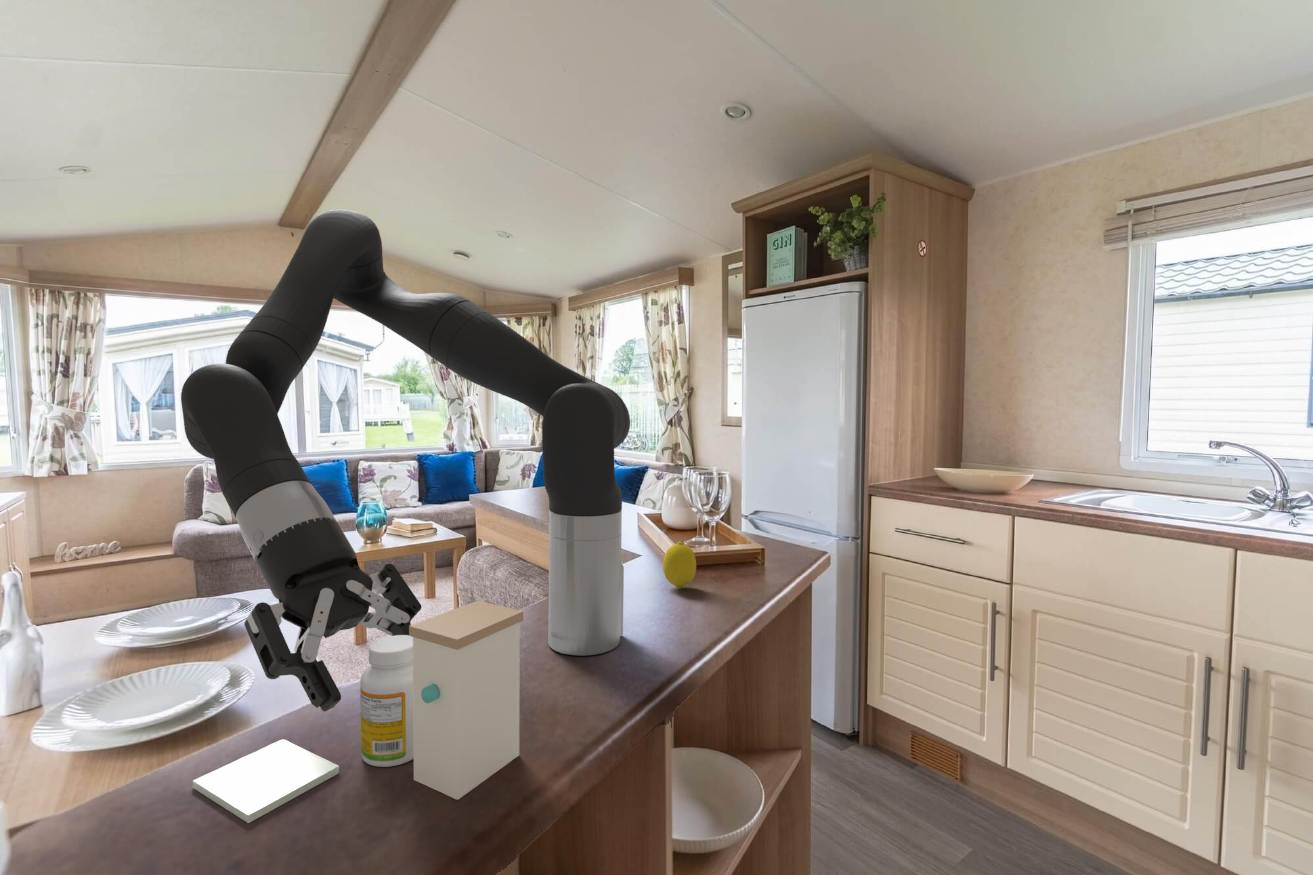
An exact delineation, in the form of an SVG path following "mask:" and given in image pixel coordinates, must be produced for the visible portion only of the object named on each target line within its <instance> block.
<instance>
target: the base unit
mask: <svg viewBox="0 0 1313 875" xmlns="http://www.w3.org/2000/svg"><path fill="white" fill-rule="evenodd" d="M523 621H524V611H523V610H520V609H515V608H510V607H506V606H502V605H497V604H494V603H489V602H484V601H481V600H475V601H472V602H470V603H468V604H465V605H462V606H460V607H457V608H455V609H451V610H449V611H446V612H443V613H440V614H438V615H436V616H435V615H434V616H432V617H430V618H427V619H425V620H421V621H419V622H416V623H413V624H411V625H410V626H409V636H412V637H413V747H414V759H413V781H415V782H417V783H420V784H422V785H424V786H427V787H428V788H430V789H432V790H435V791H437V792H439V793H442V794H444V795H445V796H448V797H450V798H452V799H454V800H457V801H458V800H460V799H461V798H463V797H464V796H465V795H467V794H468V793H470V792H471V791H473V789H475V788H476V787H478V786H479V785H481V784H482V783H483V782H485V781H486V780H488V779H489V778H490V777H491V776H493V775H494V774H496V772H498V771H500V770H501V769H503V768H504V767H506V766H507V765H508V764H510V763H511V762H512V761H513V760H514V759H516V758H517V757H519V756H520V691H521V690H520V684H521V683H520V680H521V678H520V676H521V675H520V674H521V673H520V672H521V671H520V670H521V667H520V666H521V664H520V663H521V662H520V658H521V656H520V654H521V652H520V651H521V650H520V649H521V643H520V642H521V641H520V640H521V639H520V638H521V622H523Z"/></svg>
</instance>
